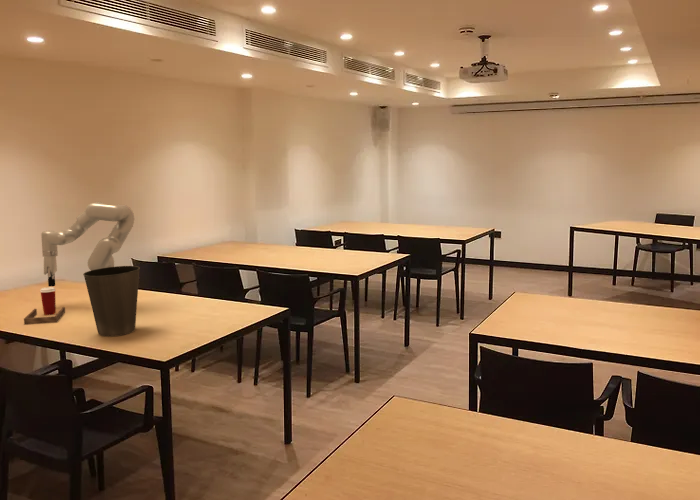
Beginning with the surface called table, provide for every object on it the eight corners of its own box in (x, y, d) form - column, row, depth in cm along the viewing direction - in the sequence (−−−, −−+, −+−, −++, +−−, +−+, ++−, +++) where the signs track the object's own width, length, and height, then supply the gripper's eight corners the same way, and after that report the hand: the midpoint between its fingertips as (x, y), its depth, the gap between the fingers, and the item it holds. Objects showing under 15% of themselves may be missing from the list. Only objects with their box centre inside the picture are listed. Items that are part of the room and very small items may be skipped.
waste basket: (104, 342, 272) (99, 277, 267) (77, 335, 283) (73, 272, 278) (153, 328, 294) (149, 268, 290) (126, 322, 305) (123, 264, 301)
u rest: (65, 312, 326) (64, 307, 325) (56, 322, 306) (56, 316, 305) (34, 314, 322) (34, 308, 322) (24, 324, 302) (23, 318, 301)
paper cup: (60, 312, 325) (58, 287, 323) (48, 316, 318) (46, 290, 316) (50, 311, 328) (48, 286, 326) (38, 314, 321) (36, 289, 319)
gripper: (45, 251, 336) (47, 283, 339) (39, 255, 322) (41, 289, 324) (60, 251, 338) (62, 283, 341) (54, 255, 324) (56, 288, 326)
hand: (51, 286), depth 332 cm, fingers closed
